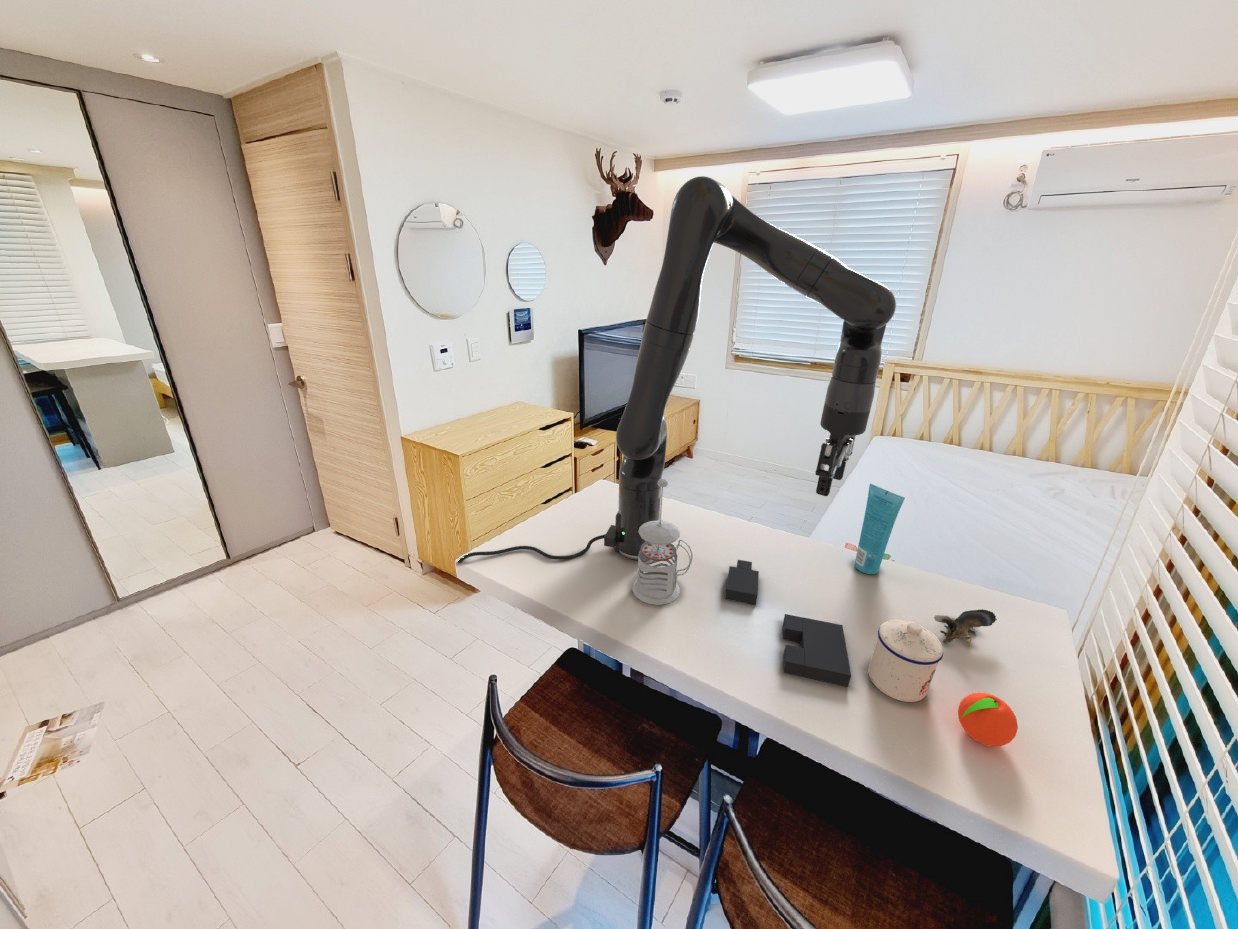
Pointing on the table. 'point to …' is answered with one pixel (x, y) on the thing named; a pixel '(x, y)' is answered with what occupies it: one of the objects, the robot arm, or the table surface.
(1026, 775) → the table surface
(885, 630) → the teacup with lid
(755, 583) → the small pad
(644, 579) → the french press
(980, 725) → the clementine
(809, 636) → the large pad
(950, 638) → the eagle figurine
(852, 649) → the table surface
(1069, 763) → the table surface
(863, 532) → the tube
